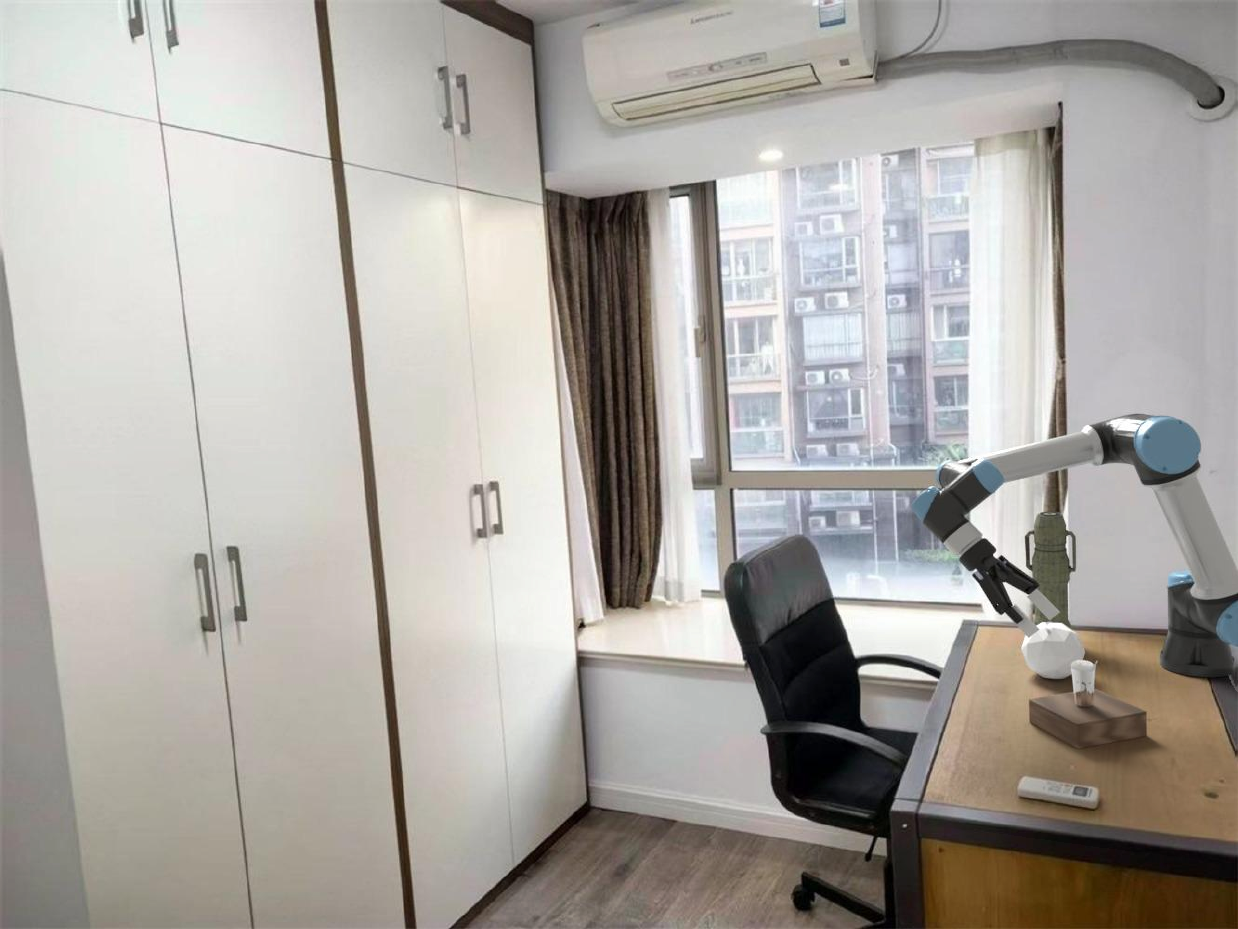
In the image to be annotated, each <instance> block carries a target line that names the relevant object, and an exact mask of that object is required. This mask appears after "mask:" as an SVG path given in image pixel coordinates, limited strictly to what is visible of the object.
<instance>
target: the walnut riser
mask: <svg viewBox="0 0 1238 929" xmlns="http://www.w3.org/2000/svg"><path fill="white" fill-rule="evenodd" d="M1028 712H1029V713H1028V714H1029V723H1030V724H1032V725H1033V726H1036V727H1037V728H1039V729H1040V730H1043V731H1045V732H1046V733H1048V734H1050V735H1052V736H1054V737H1055V738H1057V739H1060V740H1061V741H1062V742H1065V743H1066V744H1067V745H1070V746H1072V747H1074V748H1076V749H1077V750H1079V749H1084V748H1089V747H1094V746H1095V747H1096V746H1100V745H1105V744H1110V743H1115V742H1121V741H1126V740H1131V739H1136V738H1143V737H1147V735H1148V734H1147V729H1148V726H1147V716H1148V715H1147V711H1146V710H1144V709H1142V708H1139V707H1137V706H1135V705H1133V704H1130V703H1129V702H1126V701H1123V700H1122V699H1120V698H1117V697H1115V696H1113V695H1111V694H1108V693H1107V692H1104V691H1102V690H1099V689H1097V688H1095V687H1094V698H1093V706H1092V707H1080V706H1077V705H1076V704H1075V699H1074V691H1071V692H1064V693H1058V694H1053V695H1047V696H1041V697H1036V698H1031V699H1030V698H1029V699H1028Z"/></svg>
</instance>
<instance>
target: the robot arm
mask: <svg viewBox="0 0 1238 929" xmlns="http://www.w3.org/2000/svg"><path fill="white" fill-rule="evenodd" d="M1201 450H1202V443H1201V439H1200V436H1199V434H1198V432H1197V431H1196V430H1195V429H1194V427H1192V425H1190V423H1187V422H1186V421H1184V420H1182V419H1179V418H1176V417H1174V416H1169V415H1153V414H1151V415H1150V414H1145V413H1131V414H1130V413H1129V414H1124V415H1121V416H1117V417H1114V418H1110V419H1107V420H1104V421H1099V422H1096V423H1091V424H1089V425H1088V424H1087V425H1085V426H1083V428H1082V429H1081V431H1078V432H1073V433H1070V434H1069V433H1068V434H1065V435H1061V436H1058V437H1053V438H1049V439H1045V440H1039V441H1036V442H1032V443H1029V444H1024V445H1020V446H1019V445H1018V446H1015V447H1011V448H1007V449H1003V450H999V451H995V452H992V453H986V454H982V455H978V456H975V457H971V458H965V459H962V460H961V459H960V460H957V459H951V460H945V461H944V462H943V461H942V463H941V464H939V465H938V467H937V468H936V471H935V482H936V484H937V485H938V486H939V487H940V488H941V489H939V488H938V487H937V486H934V485H933V486H930V487H929V486H928V488H926V489H925V490H924V491H922V492H921V493H920V494H918V495H917V497H916V498H914V500H913V501H912V503H911V506H910V508H911V511H912V513H914V515H915V516H916V517H917V518H918V519H919V521H921V523H922V525H924V526H925V528H927V529H928V530H929V531H930V532H931V534H933V535H934V536H935V537H936V539H938V540H939V541H940V542H941V543H942V544H943V545H944V546H945V548H946V551H947V552H950V553H951V554H952V555H953V556H954V557H956V558H958V560H959V563H960V564H961V565H962V566H963V567H964V568H965V569H966V570H967V571H968V572H973V571H974V572H973V573H972V574H971V577H973V579H974V580H975V581H976V583H978V585H979V587H980V588H981V590H982V591H983V593H984V595H985V596H986V598H987V599H988V601H989V603H990V604H991V606H992V607H993V609H994V611H995V612H997V614H998V615H1000V616H1002V615H1004V614H1005V615H1006V616H1007V617H1008V618H1009V619H1010V620H1011V622H1013V623H1014V624H1015V625H1016V627H1018V629H1020V631H1021V632H1023V633H1024V636H1025V635H1026V636H1027V637H1028V638H1029V637H1031V636H1032V635H1033V634H1034V633H1036V632H1037V631H1038V630H1039V628H1038V627H1037V626H1036V625H1035V624H1034V623H1033V622H1034V621H1032V620H1031V618H1029V616H1028V615H1027V614H1026V613H1025V612H1024V611H1023V610H1022V608H1020V607H1019V606H1018V605H1017V604H1014V605H1013V602H1012V600H1011V598H1010V596H1009V593H1008V591H1007V589H1006V587H1005V585H1004V583H1006V584H1008V585H1010V586H1011V587H1014V588H1015V589H1017V590H1019V591H1021V592H1022V593H1024V594H1026V595H1027V596H1026V597H1027V599H1028V600H1029V601H1030V602H1031V603H1032V604H1033V605H1034V607H1035V606H1036V607H1037V608H1038V609H1039V610H1040V611H1041V612H1042V613H1043V614H1044V615H1045V616H1046V617H1047V618H1048V619H1049V620H1051V619H1052V618H1053V617H1055V616H1056V615H1057V614H1058V613H1060V611H1059V610H1058V609H1057V608H1056V607H1055V606H1054V605H1053V604H1052V603H1051V602H1050V601H1049V600H1048V599H1047V598H1046V597H1045V596H1044V595H1043V594H1042V593H1041V592H1040V591H1039V590H1038V589H1037V588H1038V587H1039V586H1040V585H1039V583H1038V582H1037V581H1036V580H1034V579H1033V578H1032V576H1030V575H1028V574H1027V573H1026V572H1024V571H1023V570H1022V569H1020V568H1019V567H1017V566H1016V565H1014V564H1013V563H1012V562H1010V561H1009V560H1008V559H1007V558H1006V557H1005V556H1003V554H1000V555H999V556H998V557H997V558H996V557H995V556H994V554H995V553H996V552H997V547H995V546H994V544H993V543H991V542H990V541H989V540H988V539H987V538H985V537H984V538H983V533H982V532H981V531H980V530H979V529H978V528H977V527H976V526H975V525H974V524H973V523H972V522H971V521H970V520H969V519H968V518H967V517H966V515H968V514H969V513H971V512H972V511H973V510H974V509H975V508H976V507H978V506H979V505H980V504H981V503H983V502H984V501H985V500H987V499H988V498H989V497H990V496H992V495H993V494H995V493H996V492H997V491H998V489H999V488H1000V487H1002V486H1003V485H1004V484H1006V483H1011V482H1014V481H1018V480H1019V481H1020V480H1023V479H1028V478H1031V477H1036V476H1040V475H1041V476H1042V475H1044V474H1048V473H1054V472H1057V471H1061V470H1066V469H1070V468H1071V469H1072V468H1074V467H1079V466H1083V465H1087V464H1091V465H1093V466H1095V467H1098V466H1102V465H1106V464H1107V465H1108V464H1125V465H1129V466H1130V465H1131V466H1133V467H1134V469H1135V471H1136V474H1137V476H1138V478H1139V480H1140V483H1141V484H1142V485H1143V486H1144V487H1148V488H1149V489H1152V490H1153V494H1154V495H1155V497H1156V499H1157V501H1158V504H1159V506H1160V508H1161V511H1162V513H1163V514H1164V515H1163V516H1164V518H1165V520H1166V521H1167V524H1168V526H1169V528H1170V531H1171V533H1172V535H1173V538H1174V539H1175V540H1174V541H1176V545H1177V546H1178V549H1179V550H1180V553H1181V555H1182V558H1183V560H1184V562H1185V564H1186V566H1187V569H1188V570H1179V571H1177V570H1176V571H1174V572H1171V573H1170V574H1169V576H1168V578H1167V586H1166V589H1167V627H1168V628H1167V634H1166V637H1165V640H1164V643H1163V646H1162V649H1161V650H1160V652H1159V664H1160V666H1161V667H1162V668H1164V669H1166V670H1168V671H1171V672H1174V673H1177V674H1181V675H1185V676H1190V677H1191V676H1192V677H1199V678H1222V677H1223V678H1224V677H1229V676H1230V675H1234V674H1235V673H1236V669H1237V668H1236V666H1237V664H1236V659H1235V657H1234V656H1233V654H1232V649H1231V646H1230V645H1232V646H1234V647H1237V648H1238V567H1237V566H1236V563H1235V560H1234V558H1233V556H1232V553H1231V552H1230V549H1229V547H1228V545H1227V543H1226V540H1225V538H1224V536H1223V534H1222V531H1221V529H1220V526H1219V524H1218V521H1217V520H1216V517H1215V515H1214V513H1213V511H1212V508H1211V507H1210V504H1209V502H1208V500H1207V498H1206V494H1205V492H1204V490H1203V488H1202V486H1201V483H1200V481H1199V479H1198V477H1197V476H1198V475H1197V474H1198V473H1199V471H1200V469H1201V468H1202V465H1201V463H1200V461H1199V454H1200V453H1201ZM975 570H976V571H975Z"/></svg>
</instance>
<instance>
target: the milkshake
mask: <svg viewBox="0 0 1238 929" xmlns="http://www.w3.org/2000/svg"><path fill="white" fill-rule="evenodd" d="M1097 664H1098V660H1096V661H1095V663H1093V662H1091V661H1089V660H1085V659H1083V660H1076V661H1074V662H1072V664H1071V673H1072V674H1071V679H1072V689H1073V692H1074V699H1075V704H1076V705H1077V706H1080V707H1092V706H1093V698H1094V688H1095V677H1096V666H1097Z"/></svg>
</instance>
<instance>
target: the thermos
mask: <svg viewBox="0 0 1238 929" xmlns="http://www.w3.org/2000/svg"><path fill="white" fill-rule="evenodd" d="M1031 535H1033V537H1034V538H1033V539H1034V540H1033V541H1034V550H1033V551H1034V552H1033V555H1032V557H1031V549H1030V546H1031V545H1030V544H1031V543H1030V536H1031ZM1069 536H1070V537H1071V541H1072V542H1071V547H1072V548H1071V550H1072V551H1071V552H1072V553H1071V554H1072V555H1071V556H1072V566H1071V564H1070V563H1071V562H1070V558H1069V555H1068V550H1067V546H1066V545H1067V542H1068V541H1067V537H1069ZM1076 538H1077V537H1076V535H1075V534H1074V532H1073V531H1071V530H1068V529H1067V523H1066V520H1065V517H1064V514H1063V513H1060V512H1057V511H1042V512H1040V513H1036V517H1035V519H1034V524H1033V529H1032V530H1029V531H1028V532H1027V533H1026V534H1025V535H1024V546H1025V547H1024V548H1025V549H1024V550H1025V567H1026V568H1027V569H1028V570H1029V571H1031V574H1032V575H1031V578H1033V579H1034V580H1036V581H1037V582H1038V583H1039V585H1040V586H1039V587H1038V588H1037V589H1038V590H1039V591H1040V592H1041V593H1042V594H1043V595H1044V596H1045V597H1046V598H1047V599H1048V600H1049V601H1050V602H1051V603H1052V604H1053V605H1054V606H1055V607H1056V608H1057V609H1058V610H1059V611H1060V613H1058V614H1057V615H1056V616H1055V617H1053V618H1052V619H1051V620H1049V619H1048V618H1047V617H1046V616H1045V615H1044V614H1043V613H1042V612H1041V611H1040V610H1039V609H1038V608H1037V607H1036V606H1035V605H1034V618H1033V621H1032V622H1033V623H1034V624H1035V625H1036V626H1037V625H1039V624H1040V623H1042V622H1045V623H1046V622H1048V623H1049V622H1052V623H1062V624H1064V625H1065V626H1067V627H1068V628H1070V629H1071V630H1072V625H1071V622H1070V620H1069V583H1070V580H1071V576H1070V575H1071V574H1072V573H1074V572H1076V569H1077V544H1076V543H1077V540H1076Z"/></svg>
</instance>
